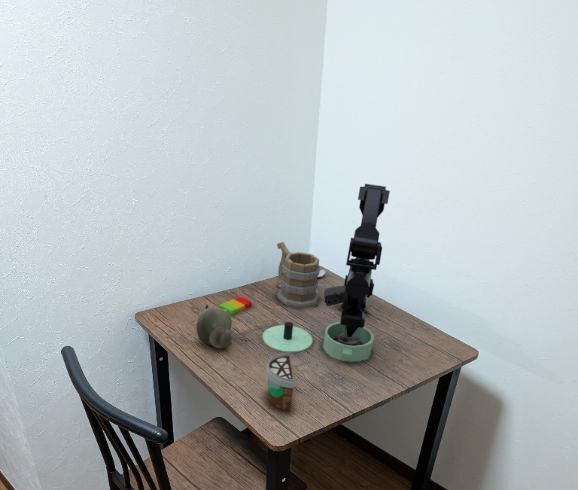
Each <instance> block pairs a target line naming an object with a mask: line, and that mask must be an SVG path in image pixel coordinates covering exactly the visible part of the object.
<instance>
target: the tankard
mask: <svg viewBox="0 0 578 490" xmlns="http://www.w3.org/2000/svg"><path fill="white" fill-rule="evenodd" d="M276 246H277V249H279V250H280V251H281V257H280V262H279V265H278V271H277V273H278V278H279V281H280V284H279V285H280V286H281V287H280V289H279V291H278V292H277V293H276V299H278V300H279V302H281V303H283V304H285V305H288V306H293V307H296V308H297V307H298V308H304V307H315V306H316V305H317V302H318V300H319V297H320V294H319V293H317V289H318V288H319V280H318V278H319V277H318V275H319V273H320V270H321V266H320V259H319V258H318V257H317V256H315V255H314V254H312V253H307V252H303V251H297V252H291V251H290V250H289V249H288V248H287V246H286V244H285V242H284V241H281V242H278V243H277V244H276Z"/></svg>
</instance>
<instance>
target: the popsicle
mask: <svg viewBox="0 0 578 490" xmlns="http://www.w3.org/2000/svg"><path fill="white" fill-rule="evenodd" d="M251 307H252V301H251V300H250V299H248V298H246V297H243V296H237V297H234V298H233V299H230V300H228V301H225V302H222V303H221V304H219V308H221V309H223V310H225V311H226V312H227V313H228V314H229V315H230V316H233V315H235V314H237V313H239V312H241V311H244V310H246V309H248V308H251Z"/></svg>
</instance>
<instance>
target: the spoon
mask: <svg viewBox="0 0 578 490" xmlns="http://www.w3.org/2000/svg"><path fill="white" fill-rule="evenodd" d="M324 275H326V270H325V269H320V273H319V275H318V277H317V278H321V277H324ZM278 287H279V288H282V287H281V286H280V284H279V285H278Z"/></svg>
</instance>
